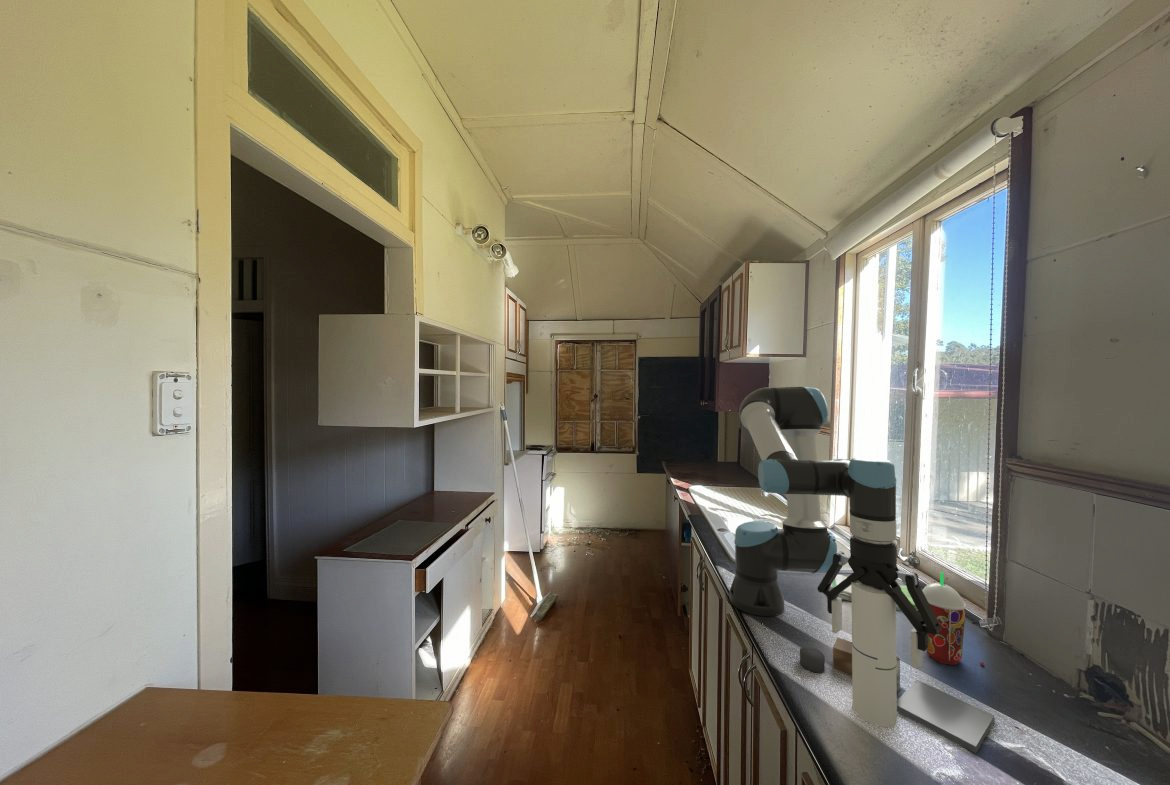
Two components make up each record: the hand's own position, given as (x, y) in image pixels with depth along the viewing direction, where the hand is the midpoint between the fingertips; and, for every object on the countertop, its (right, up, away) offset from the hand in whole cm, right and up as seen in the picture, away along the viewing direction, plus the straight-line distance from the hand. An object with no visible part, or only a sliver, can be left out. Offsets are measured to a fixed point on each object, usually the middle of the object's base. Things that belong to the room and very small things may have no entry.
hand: (874, 646), depth 81 cm
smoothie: (+28, -13, +17) cm, 35 cm away
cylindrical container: (0, -13, 0) cm, 13 cm away
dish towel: (+32, -13, +48) cm, 59 cm away
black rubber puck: (-4, -13, +14) cm, 20 cm away
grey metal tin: (+8, -13, +8) cm, 17 cm away
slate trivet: (+13, -13, -1) cm, 18 cm away
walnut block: (+3, -13, +13) cm, 19 cm away
